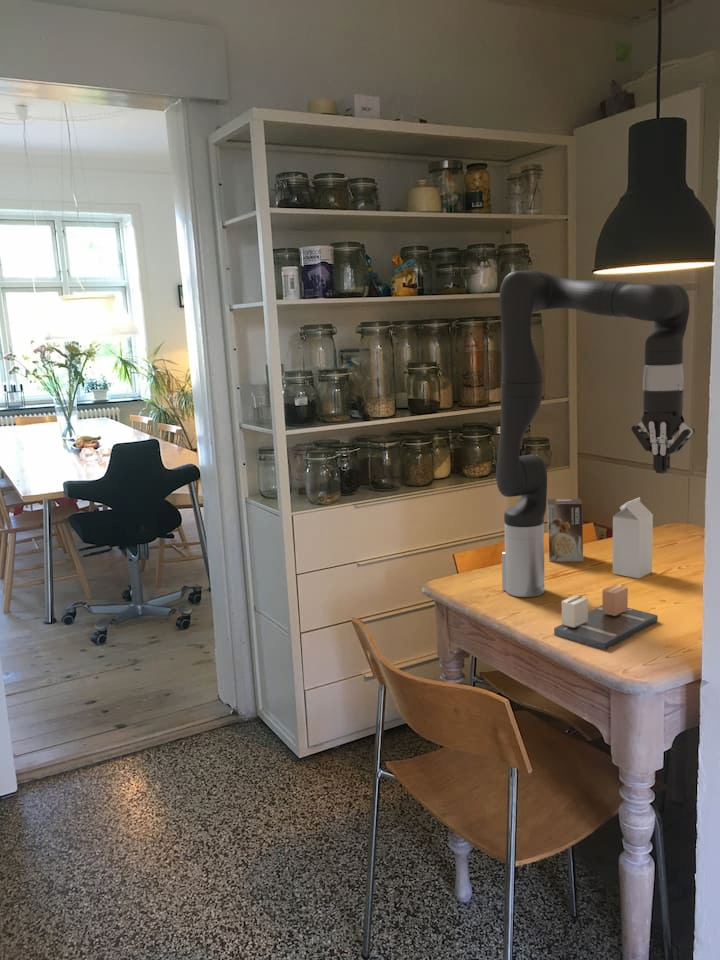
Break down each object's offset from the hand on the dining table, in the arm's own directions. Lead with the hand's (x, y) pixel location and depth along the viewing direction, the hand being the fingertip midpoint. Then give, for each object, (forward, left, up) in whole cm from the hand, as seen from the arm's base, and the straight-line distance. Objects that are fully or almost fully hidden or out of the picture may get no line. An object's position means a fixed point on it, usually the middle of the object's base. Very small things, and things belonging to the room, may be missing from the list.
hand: (661, 472), depth 162 cm
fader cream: (-11, -14, -31) cm, 36 cm away
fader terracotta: (-8, -3, -31) cm, 32 cm away
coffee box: (-42, +27, -33) cm, 60 cm away
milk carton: (-22, +27, -33) cm, 48 cm away
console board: (-7, -9, -33) cm, 35 cm away
